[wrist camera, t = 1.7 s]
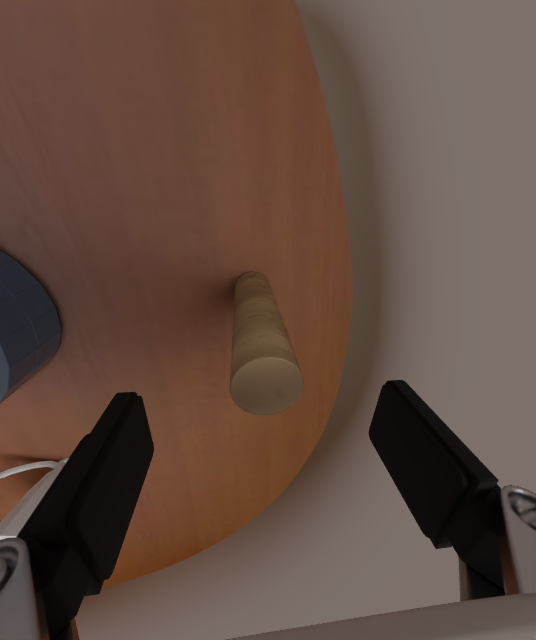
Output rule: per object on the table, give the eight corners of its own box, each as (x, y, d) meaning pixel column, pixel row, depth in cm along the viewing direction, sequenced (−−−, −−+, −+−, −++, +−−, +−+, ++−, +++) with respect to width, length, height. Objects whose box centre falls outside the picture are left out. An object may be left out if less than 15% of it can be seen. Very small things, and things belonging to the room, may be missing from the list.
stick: (228, 282, 21) (214, 379, 10) (259, 265, 21) (284, 344, 9) (246, 311, 23) (253, 425, 11) (276, 295, 22) (315, 396, 11)
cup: (92, 491, 32) (50, 576, 25) (5, 468, 28) (-75, 559, 21) (115, 461, 30) (76, 544, 23) (23, 433, 26) (-57, 520, 19)
